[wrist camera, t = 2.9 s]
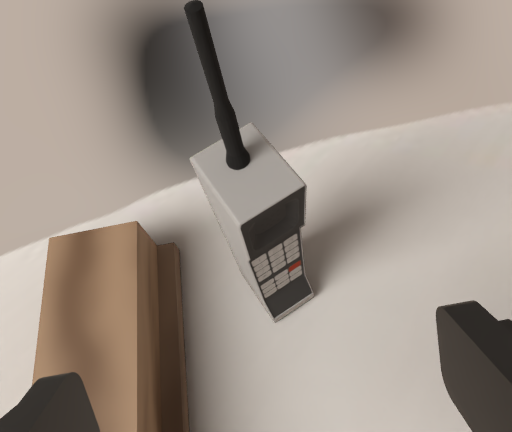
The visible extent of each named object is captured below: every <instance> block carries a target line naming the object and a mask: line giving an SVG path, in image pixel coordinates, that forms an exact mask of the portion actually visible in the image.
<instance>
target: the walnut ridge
mask: <svg viewBox="0 0 512 432" xmlns="http://www.w3.org/2000/svg"><path fill="white" fill-rule="evenodd" d="M70 372H76V373H77V374H79V376H80V377H81V379H82V381H83V384H84V387H85V389H86V392H87V395H88V398H89V400H90V403H91V406H92V409H93V411H94V414H95V417H96V420H97V422H98V425H99V428H100V432H189V418H188V400H187V382H186V364H185V345H184V327H183V309H182V291H181V273H180V255H179V249H178V247H177V246H176V245H175V243H169V244H163V245H158V246H157V245H156V244H155V243H154V241H153V240H152V239H151V238H150V236H149V235H148V234H147V233H146V231H145V230H144V229H143V228H142V227H141V225H140V224H139V223H138V222H137V221H134V222H129V223H124V224H119V225H114V226H108V227H103V228H98V229H93V230H88V231H83V232H78V233H73V234H68V235H62V236H57V237H52V238H49V245H48V253H47V262H46V271H45V279H44V288H43V296H42V305H41V313H40V322H39V331H38V339H37V348H36V356H35V365H34V374H33V382H32V386H33V384H34V383H35V382H36V381H37V380H38V379H39V378H42V377H48V376H53V375H59V374H64V373H70Z"/></svg>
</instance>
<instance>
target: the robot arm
mask: <svg viewBox="0 0 512 432" xmlns="http://www.w3.org/2000/svg"><path fill="white" fill-rule="evenodd" d="M436 323H437V333H438V343H439V353H440V363H441V372H442V376H443V380H444V383H445V386H446V389H447V391H448V394H449V396H450V398H451V399H452V401H453V403H454V404H455V406H456V407H457V409H458V410H459V412H460V413H461V415H462V416H463V418H464V419H465V421H466V422H467V424H468V426H469V427H470V429H471V430H472V432H512V321H511V320H509V319H506V320H501V321H498V320H497V319H495V318H494V317H493V316H492V315H491V314H490V313H489V312H488V311H487V310H486V309H485V308H483V307H482V306H481V305H480V304H479V303H478V302H476V301H468V302H462V303H457V304H451V305H445V306H440V307H438V308H437V310H436ZM0 432H100V428H99V425H98V422H97V420H96V417H95V414H94V411H93V409H92V406H91V403H90V400H89V398H88V395H87V392H86V389H85V387H84V384H83V381H82V379H81V377H80V376H79V374H77V373H76V372H70V373H64V374H59V375H53V376H48V377H42V378H39V379H38V380H37V381H36V382H35V383H34V384H33V386H32V387H31V388H30V389H29V391H28V392H27V393H26V395H25V396H24V397H23V398H22V400H21V401H20V402H19V404H18V405H17V406H15V407H14V408H13V409H12V410H10V411H9V412H8V413H7V414H6V415H4V416H3V417H2V418H1V419H0Z"/></svg>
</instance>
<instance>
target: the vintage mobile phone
mask: <svg viewBox="0 0 512 432" xmlns="http://www.w3.org/2000/svg"><path fill="white" fill-rule="evenodd" d="M184 9H185V13H186V16H187V19H188V22H189V25H190V29H191V32H192V35H193V38H194V41H195V44H196V48H197V51H198V54H199V57H200V60H201V64H202V67H203V70H204V73H205V76H206V79H207V83H208V85H209V89H210V92H211V95H212V99H213V102H214V107H215V117H216V121H217V124H218V126H219V130H220V133H221V136H222V139H221V140H219V141H218V142H216V143H214V144H213V145H211V146H209V147H207V148H206V149H204V150H202V151H200V152H199V153H197V154H195V155H193V156H192V157H190V161H191V164H192V166H193V168H194V170H195V172H196V174H197V177H198V179H199V181H200V183H201V185H202V188H203V190H204V192H205V194H206V196H207V199H208V201H209V203H210V205H211V207H212V209H213V212H214V214H215V216H216V218H217V220H218V223H219V225H220V227H221V229H222V231H223V233H224V236H225V238H226V240H227V242H228V244H229V247H230V249H231V251H232V253H233V255H234V257H235V260H236V262H237V264H238V266H239V268H240V271H241V273H242V275H243V276H244V278H245V279H246V281H247V282H248V284H249V285H250V287H251V288H252V290H253V291H254V293H255V294H256V296H257V297H258V299H259V300H260V302H261V303H262V305H263V306H264V308H265V309H266V311H267V312H268V314H269V315H270V317H271V318H272V320H273V321H274V322H275V323H276V322H277V321H279V320H280V319H282V318H283V317H284V316H286V315H287V314H289V313H290V312H292V311H293V310H295V309H296V308H298V307H299V306H301V305H302V304H304V303H305V302H307V301H308V300H310V299H311V298H313V297H314V295H313V291H312V288H311V286H310V284H309V281H308V279H307V277H306V274H305V266H304V256H303V247H302V237H301V227H303V226H305V214H306V184H305V183H304V182H303V180H302V179H301V178H300V177H299V176H298V175H297V174H296V172H295V171H294V170H293V169H292V168H291V167H290V166H289V164H288V163H287V162H286V161H285V160H284V159H283V158H282V156H281V155H280V154H279V153H278V152H277V151H276V150H275V148H274V147H273V146H272V145H271V144H270V143H269V141H268V140H267V139H266V138H265V137H264V136H263V135H262V133H261V132H260V131H259V130H258V129H257V128H256V127H255V126H254V124H253V123H249V124H247V125H245V126H244V127H242V128H240V129H239V127H238V123H237V119H236V115H235V112H234V109H233V107H232V105H231V104H230V101H229V99H228V96H227V92H226V89H225V85H224V81H223V77H222V74H221V70H220V67H219V63H218V59H217V55H216V52H215V48H214V44H213V40H212V37H211V33H210V29H209V26H208V22H207V18H206V14H205V11H204V7H203V3H202V2H201V1H198V0H193V1H190V2H188V3H187V4H186V5H185V7H184Z"/></svg>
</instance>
